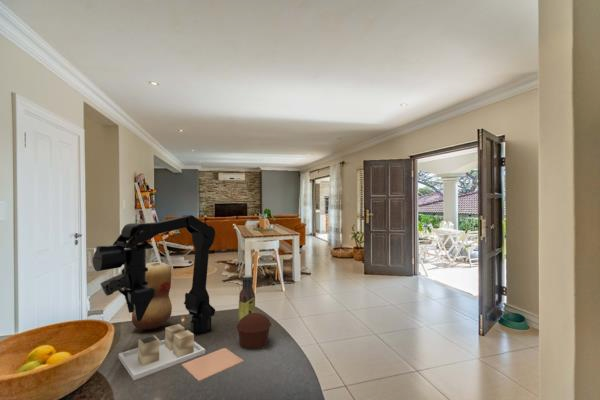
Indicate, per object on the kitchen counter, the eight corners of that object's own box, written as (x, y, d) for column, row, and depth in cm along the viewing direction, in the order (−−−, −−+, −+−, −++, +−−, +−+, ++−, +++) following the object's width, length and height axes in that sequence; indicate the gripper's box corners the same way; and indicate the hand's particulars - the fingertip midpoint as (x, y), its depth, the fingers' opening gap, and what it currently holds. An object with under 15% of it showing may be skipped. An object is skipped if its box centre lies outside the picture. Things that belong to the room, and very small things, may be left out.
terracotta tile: (224, 350, 92) (224, 347, 92) (243, 363, 84) (243, 360, 84) (181, 367, 82) (181, 364, 82) (198, 383, 74) (198, 380, 74)
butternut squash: (152, 338, 100) (153, 267, 101) (122, 333, 104) (124, 265, 104) (179, 323, 113) (180, 261, 114) (152, 319, 117) (154, 259, 118)
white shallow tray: (183, 338, 100) (184, 333, 100) (205, 355, 88) (205, 349, 89) (118, 359, 86) (118, 353, 86) (133, 382, 74) (133, 375, 74)
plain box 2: (187, 348, 91) (187, 329, 92) (193, 353, 88) (193, 334, 88) (173, 353, 88) (173, 334, 88) (179, 359, 85) (179, 338, 85)
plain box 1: (178, 341, 96) (179, 323, 96) (184, 346, 93) (184, 327, 93) (164, 346, 93) (165, 327, 93) (170, 350, 90) (170, 331, 90)
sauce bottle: (251, 332, 105) (251, 278, 106) (235, 330, 106) (236, 277, 107) (257, 325, 112) (257, 274, 112) (242, 324, 113) (243, 274, 114)
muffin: (240, 356, 88) (240, 323, 88) (232, 341, 98) (233, 312, 98) (276, 348, 93) (276, 317, 93) (265, 335, 103) (265, 307, 103)
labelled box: (153, 354, 87) (154, 334, 88) (159, 360, 84) (159, 339, 84) (137, 360, 84) (138, 339, 84) (142, 366, 81) (143, 344, 81)
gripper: (97, 264, 87) (97, 315, 87) (109, 274, 73) (109, 335, 73) (138, 259, 95) (138, 306, 94) (155, 268, 81) (155, 322, 81)
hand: (134, 316), depth 85 cm, fingers open, 9 cm apart
